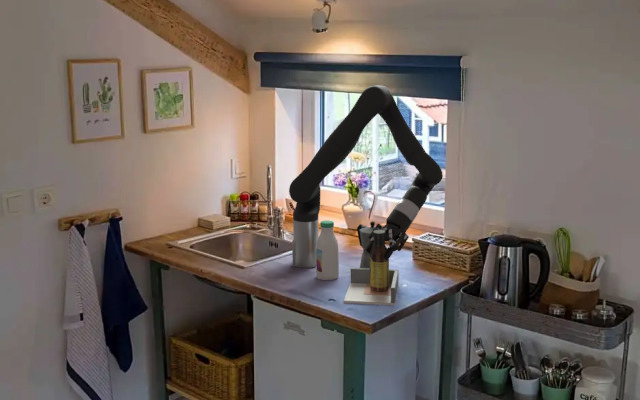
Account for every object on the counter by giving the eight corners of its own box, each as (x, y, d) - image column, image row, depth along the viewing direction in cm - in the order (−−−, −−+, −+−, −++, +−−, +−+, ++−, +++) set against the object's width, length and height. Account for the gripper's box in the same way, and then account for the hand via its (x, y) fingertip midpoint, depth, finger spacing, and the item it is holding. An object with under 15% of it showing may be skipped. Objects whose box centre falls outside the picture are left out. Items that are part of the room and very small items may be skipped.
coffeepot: (394, 272, 259) (394, 223, 255) (373, 278, 254) (373, 227, 250) (368, 262, 271) (368, 215, 267) (347, 266, 266) (347, 218, 262)
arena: (343, 303, 231) (343, 285, 230) (351, 283, 248) (351, 267, 247) (394, 305, 228) (394, 287, 227) (398, 286, 245) (398, 269, 244)
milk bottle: (340, 274, 258) (340, 219, 254) (336, 281, 251) (335, 225, 246) (319, 272, 260) (318, 218, 255) (314, 280, 253) (313, 224, 248)
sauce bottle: (376, 284, 244) (376, 227, 239) (392, 288, 240) (393, 230, 236) (365, 290, 239) (366, 231, 234) (382, 294, 235) (382, 234, 231)
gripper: (382, 204, 244) (355, 244, 240) (411, 213, 232) (383, 254, 228) (394, 217, 248) (368, 256, 244) (423, 226, 236) (396, 267, 232)
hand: (375, 255), depth 236 cm, fingers open, 8 cm apart
